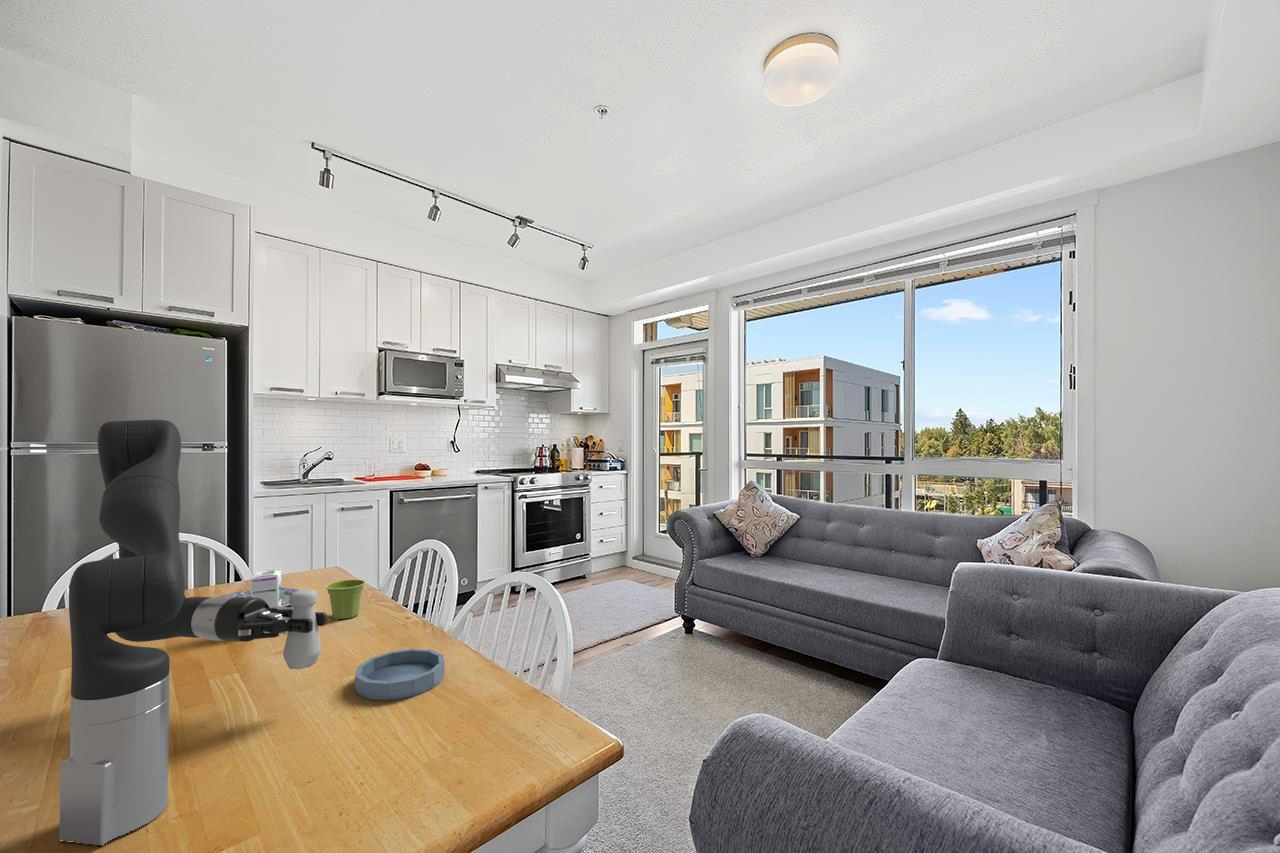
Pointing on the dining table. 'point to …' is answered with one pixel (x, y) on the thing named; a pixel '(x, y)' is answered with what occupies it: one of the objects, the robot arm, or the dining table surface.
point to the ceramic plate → (284, 595)
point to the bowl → (399, 674)
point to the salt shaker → (303, 646)
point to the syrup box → (267, 587)
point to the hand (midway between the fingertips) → (318, 622)
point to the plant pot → (345, 598)
